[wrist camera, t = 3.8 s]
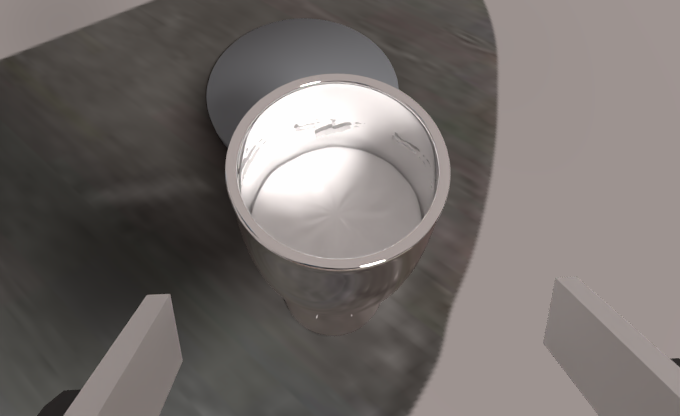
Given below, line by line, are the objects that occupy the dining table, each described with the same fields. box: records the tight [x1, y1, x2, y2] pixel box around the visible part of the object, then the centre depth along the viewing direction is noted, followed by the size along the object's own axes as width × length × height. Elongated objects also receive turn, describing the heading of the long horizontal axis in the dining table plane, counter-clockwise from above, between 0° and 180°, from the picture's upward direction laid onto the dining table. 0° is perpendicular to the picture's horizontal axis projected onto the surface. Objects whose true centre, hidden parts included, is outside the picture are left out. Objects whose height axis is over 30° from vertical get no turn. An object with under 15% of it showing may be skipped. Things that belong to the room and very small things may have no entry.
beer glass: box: [225, 73, 450, 336], centre depth 19 cm, size 7×7×15 cm
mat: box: [206, 18, 399, 148], centre depth 31 cm, size 14×14×1 cm
